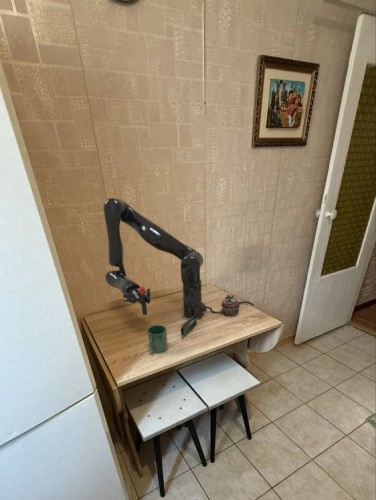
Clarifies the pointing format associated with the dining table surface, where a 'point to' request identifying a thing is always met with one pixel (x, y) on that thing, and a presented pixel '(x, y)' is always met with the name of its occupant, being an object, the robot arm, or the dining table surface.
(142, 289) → the marker
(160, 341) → the mug
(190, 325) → the mobile phone
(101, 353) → the dining table surface
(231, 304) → the cupcake
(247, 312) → the dining table surface
